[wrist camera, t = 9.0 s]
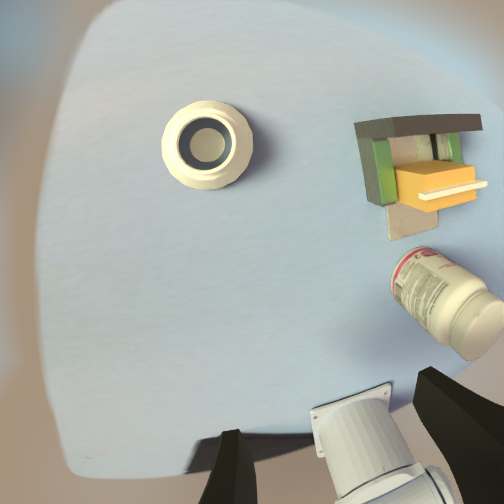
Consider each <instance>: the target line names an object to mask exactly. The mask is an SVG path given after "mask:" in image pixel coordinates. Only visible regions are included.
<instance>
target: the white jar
mask: <svg viewBox="0 0 504 504" xmlns="http://www.w3.org/2000/svg"><path fill="white" fill-rule="evenodd" d="M200 118H212V119H216V120H218V121H220V122H221V123H223V124H224V125H225V126H226V127H227V129H228V130H229V132H230V134H231V138H232V149H231V152H230V154H229V156H228V158H227V159H226V161H225V162H224V163H222V164H221V165H220V166H218V167H216V168H214V169H210V170H199V169H195V168H193V167H191V166H189V165H188V164H187V163H186V162H185V161H184V160H183V158H182V157H181V155H180V152H179V138H180V135H181V133H182V131H183V129H184V128H185V127H186V126H187V125H188V124H189V123H191V122H192V121H194V120H197V119H200ZM224 148H225V141H224V138H223V136H222V135H221V133H220V132H218V131H217V130H215V129H212V128H204V129H201V130H199V131H197V132H196V133H195V134H194V135H193V137H192V138H191V141H190V150H191V153H192V154H193V156H194V157H195V158H196V159H198V160H199V161H202V162H212V161H214V160H216V159H218V158H219V157H220V156H221V155H222V153H223V151H224ZM252 153H253V134H252V131H251V129H250V127H249V125H248V123H247V121H246V119H245V117H244V116H243V115H242V114H240V113H239V112H238V111H237V110H236V109H234V108H233V107H232V106H231V105H227V104H224V103H221V102H218V101H215V100H211V101H199V102H194V103H192V104H190V105H188V106H186V107H184V108H182V109H180V110H179V111H178V112H177V113H176V114H175V115H174V117H173V118H172V119H171V120H170V121H169V122H168V124H167V126H166V129H165V132H164V135H163V138H162V155H163V160H164V162H165V164H166V166H167V167H168V169H169V171H170V173H171V174H172V175H173V176H174V177H175V178H177V179H178V180H179V181H180V182H181V183H183V184H184V185H186V186H190V187H193V188H196V189H199V190H207V189H219V188H221V187H223V186H225V185H227V184H229V183H231V182H233V181H235V180H236V179H237V178H238V177H239V176H240V175H241V174H242V172H243V171H244V170H245V169H246V168H247V166H248V164H249V161H250V158H251V155H252Z"/></svg>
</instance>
